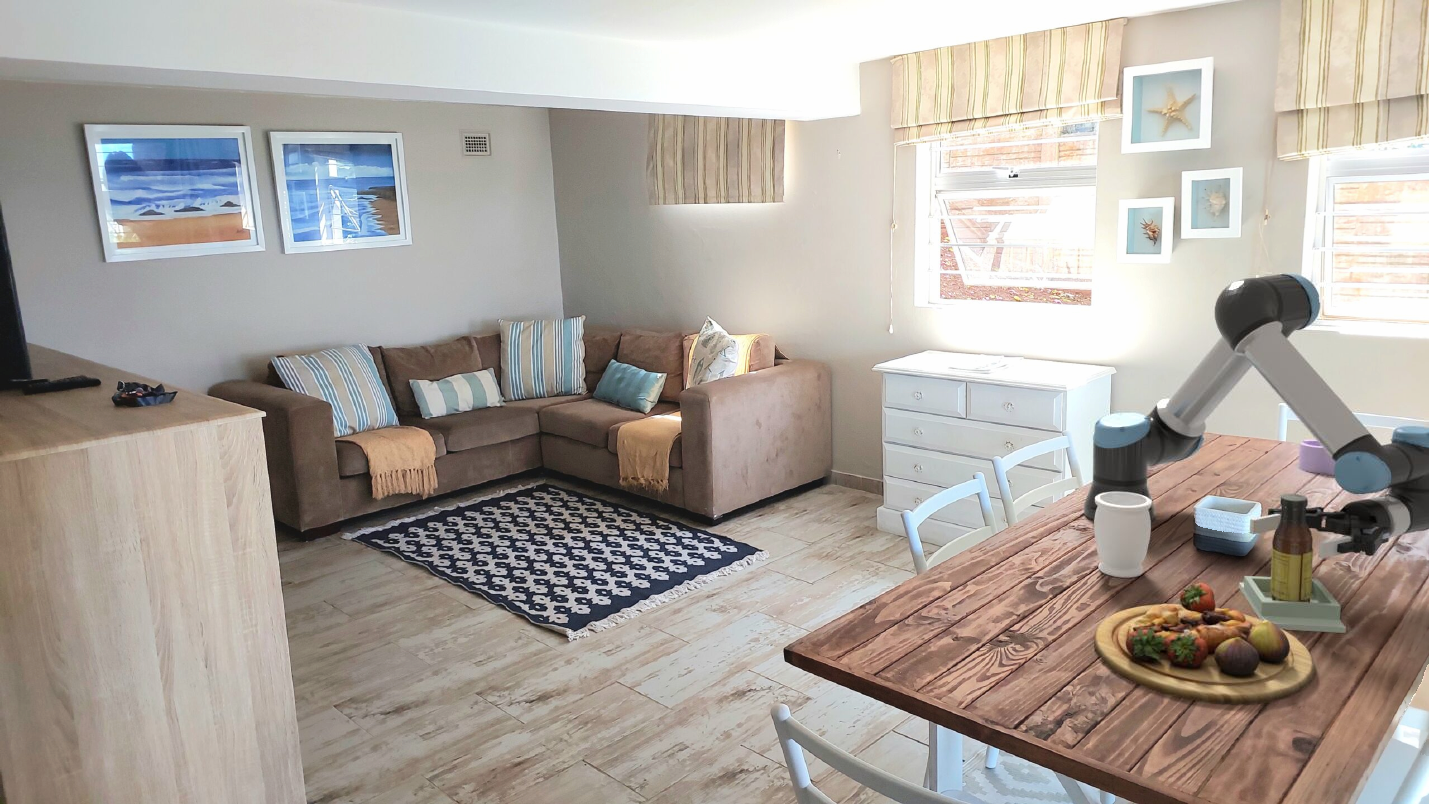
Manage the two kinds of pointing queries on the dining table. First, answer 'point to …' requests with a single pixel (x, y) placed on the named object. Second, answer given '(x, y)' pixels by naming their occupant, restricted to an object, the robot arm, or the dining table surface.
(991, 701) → the dining table surface
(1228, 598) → the dining table surface
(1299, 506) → the sauce bottle
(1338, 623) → the stand
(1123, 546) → the jar
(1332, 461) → the purple holder
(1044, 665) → the dining table surface
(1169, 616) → the wooden plate with food
